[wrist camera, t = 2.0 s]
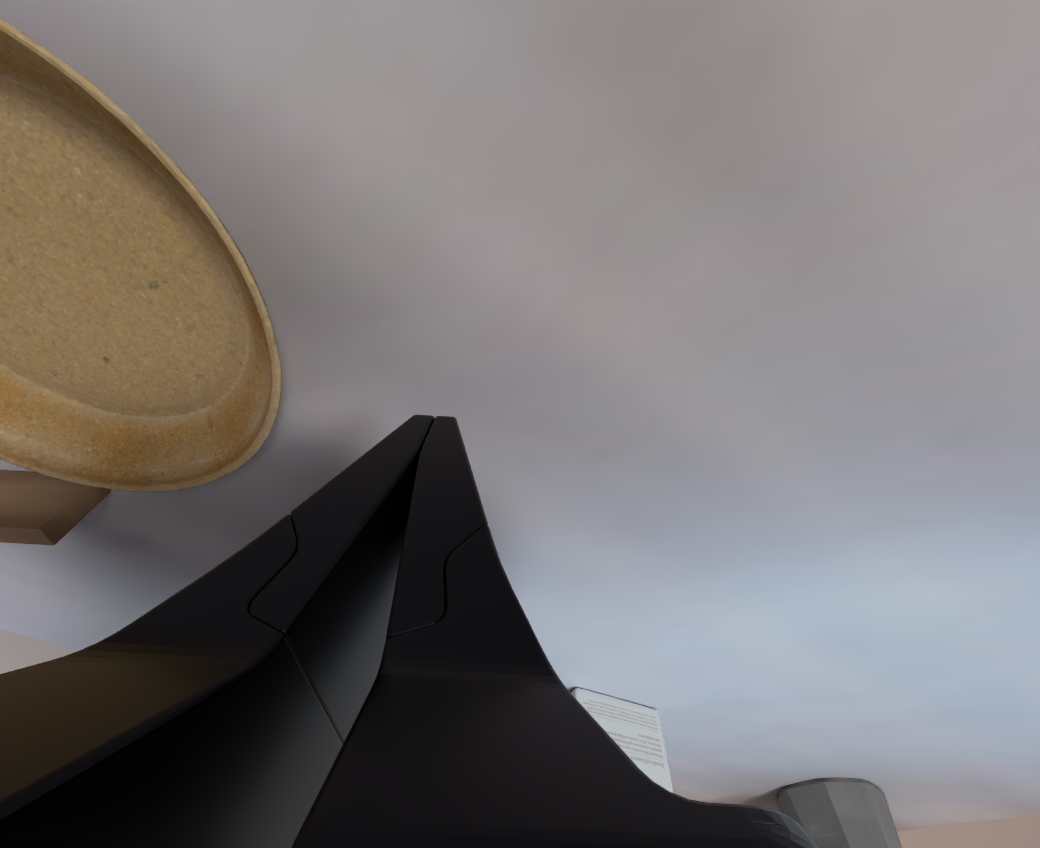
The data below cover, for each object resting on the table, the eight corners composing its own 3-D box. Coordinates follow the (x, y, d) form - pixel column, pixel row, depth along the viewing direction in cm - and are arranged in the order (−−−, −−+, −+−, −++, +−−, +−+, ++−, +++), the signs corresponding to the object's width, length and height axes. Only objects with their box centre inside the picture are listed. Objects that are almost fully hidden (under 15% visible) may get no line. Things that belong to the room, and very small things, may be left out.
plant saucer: (56, -170, 9) (-88, -245, 7) (386, 407, 18) (365, 451, 15) (-362, 86, 12) (-551, 88, 10) (94, 476, 20) (43, 520, 18)
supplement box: (574, 684, 31) (590, 974, 21) (661, 708, 33) (714, 985, 23) (524, 719, 35) (517, 977, 25) (603, 739, 37) (627, 986, 27)
